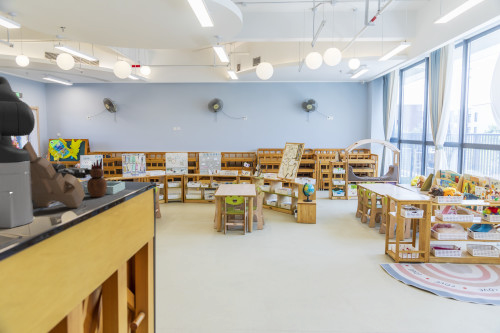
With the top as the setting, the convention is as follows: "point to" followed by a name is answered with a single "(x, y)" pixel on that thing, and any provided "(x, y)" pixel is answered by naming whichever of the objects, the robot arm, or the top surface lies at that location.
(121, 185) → the pale teal tray
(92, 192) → the wooden figurine
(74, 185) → the wooden toy
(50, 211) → the top surface
